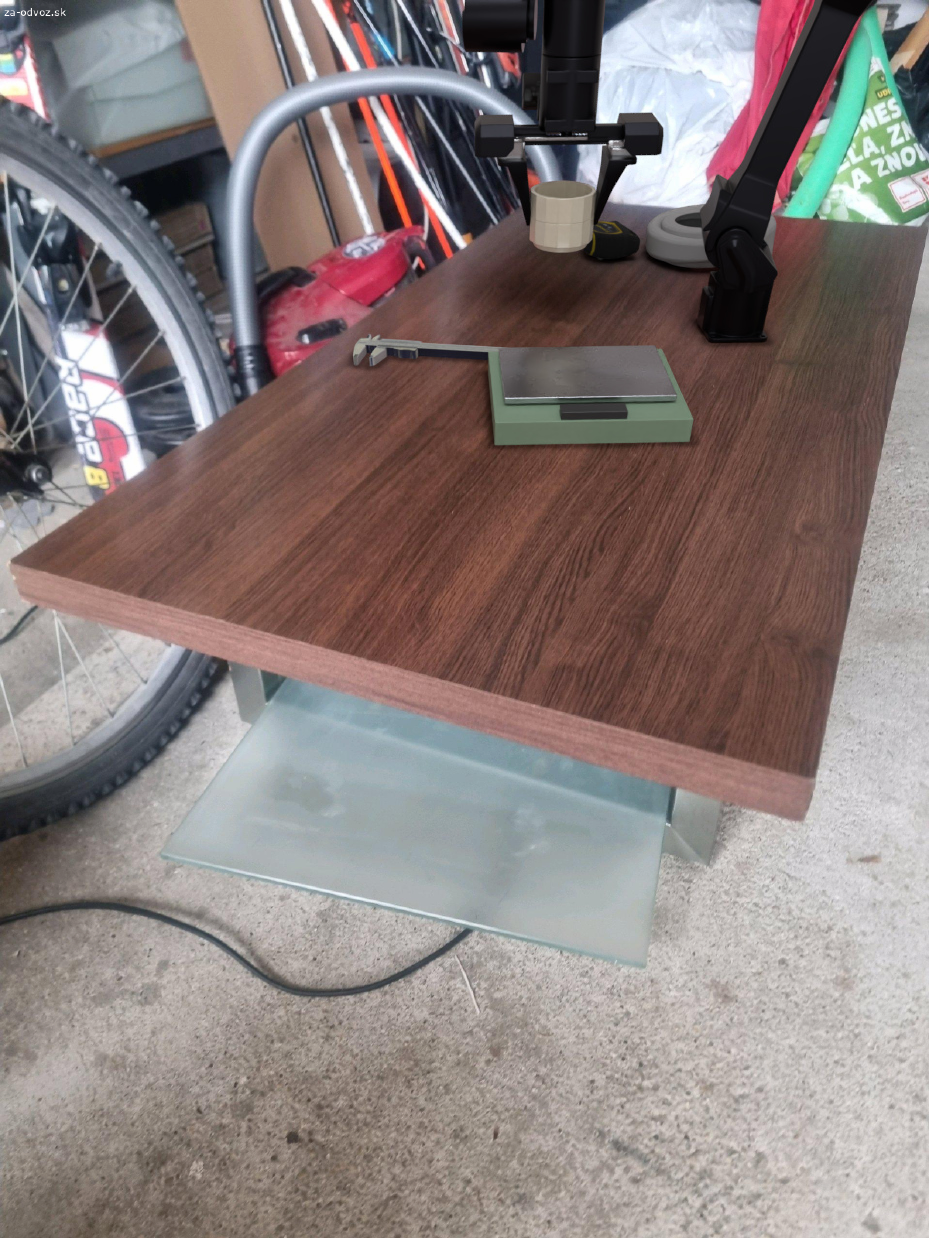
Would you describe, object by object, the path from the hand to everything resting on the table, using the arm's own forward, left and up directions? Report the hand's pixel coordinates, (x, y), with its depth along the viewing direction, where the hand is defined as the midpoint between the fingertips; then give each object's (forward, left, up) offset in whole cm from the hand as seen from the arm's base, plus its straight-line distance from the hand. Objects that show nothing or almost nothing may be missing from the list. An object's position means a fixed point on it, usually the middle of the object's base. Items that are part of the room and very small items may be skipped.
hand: (561, 224), depth 93 cm
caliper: (+12, +11, -10) cm, 20 cm away
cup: (0, 0, -2) cm, 2 cm away
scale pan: (-1, +19, -8) cm, 21 cm away
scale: (-1, +20, -11) cm, 23 cm away
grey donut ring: (-23, -21, -11) cm, 33 cm away
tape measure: (-10, -23, -11) cm, 27 cm away
